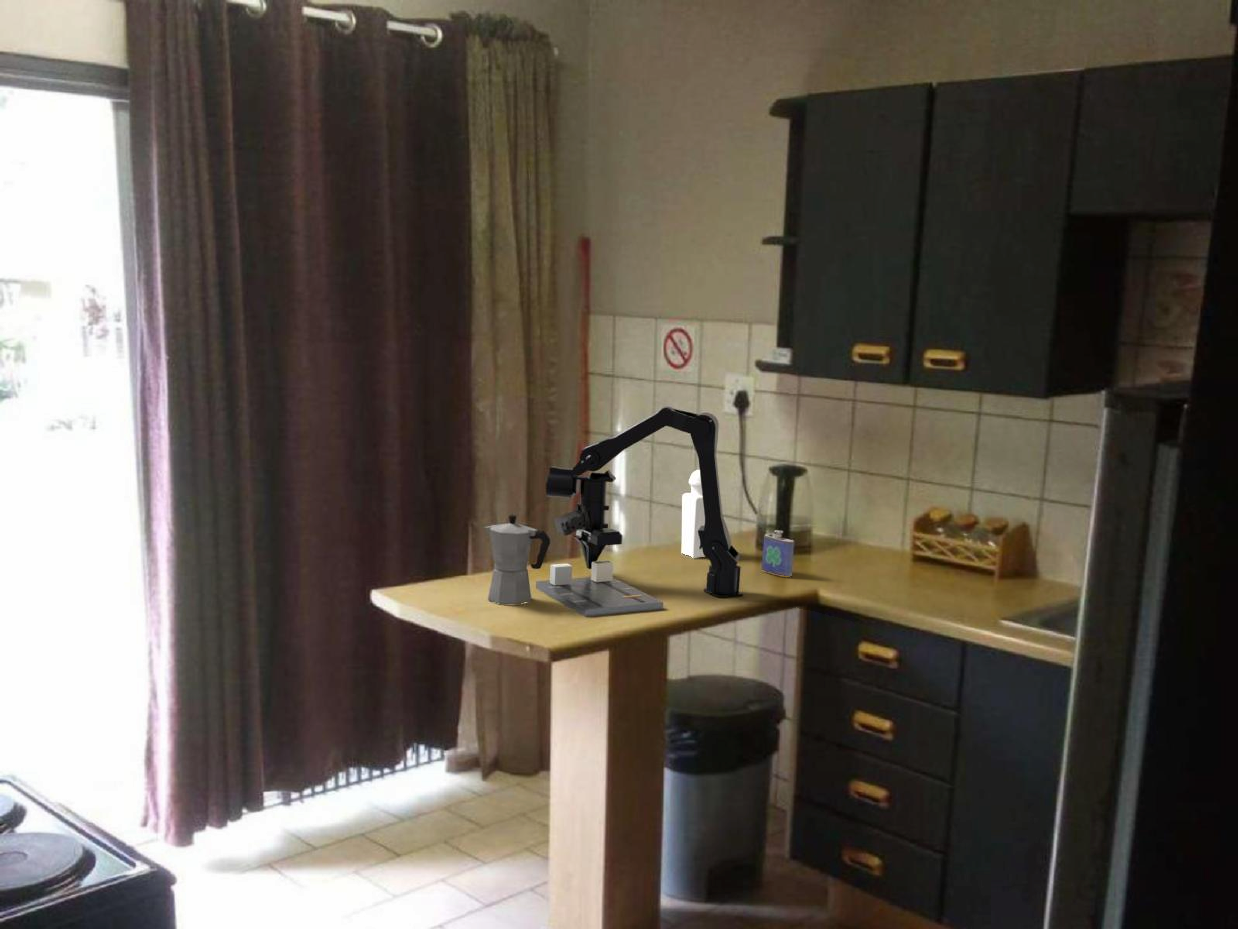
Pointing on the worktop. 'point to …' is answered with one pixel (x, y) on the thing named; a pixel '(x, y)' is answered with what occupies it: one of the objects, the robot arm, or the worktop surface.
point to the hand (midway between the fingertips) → (589, 568)
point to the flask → (777, 554)
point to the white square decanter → (692, 517)
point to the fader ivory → (602, 571)
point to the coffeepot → (513, 560)
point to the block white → (560, 574)
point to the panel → (600, 597)
